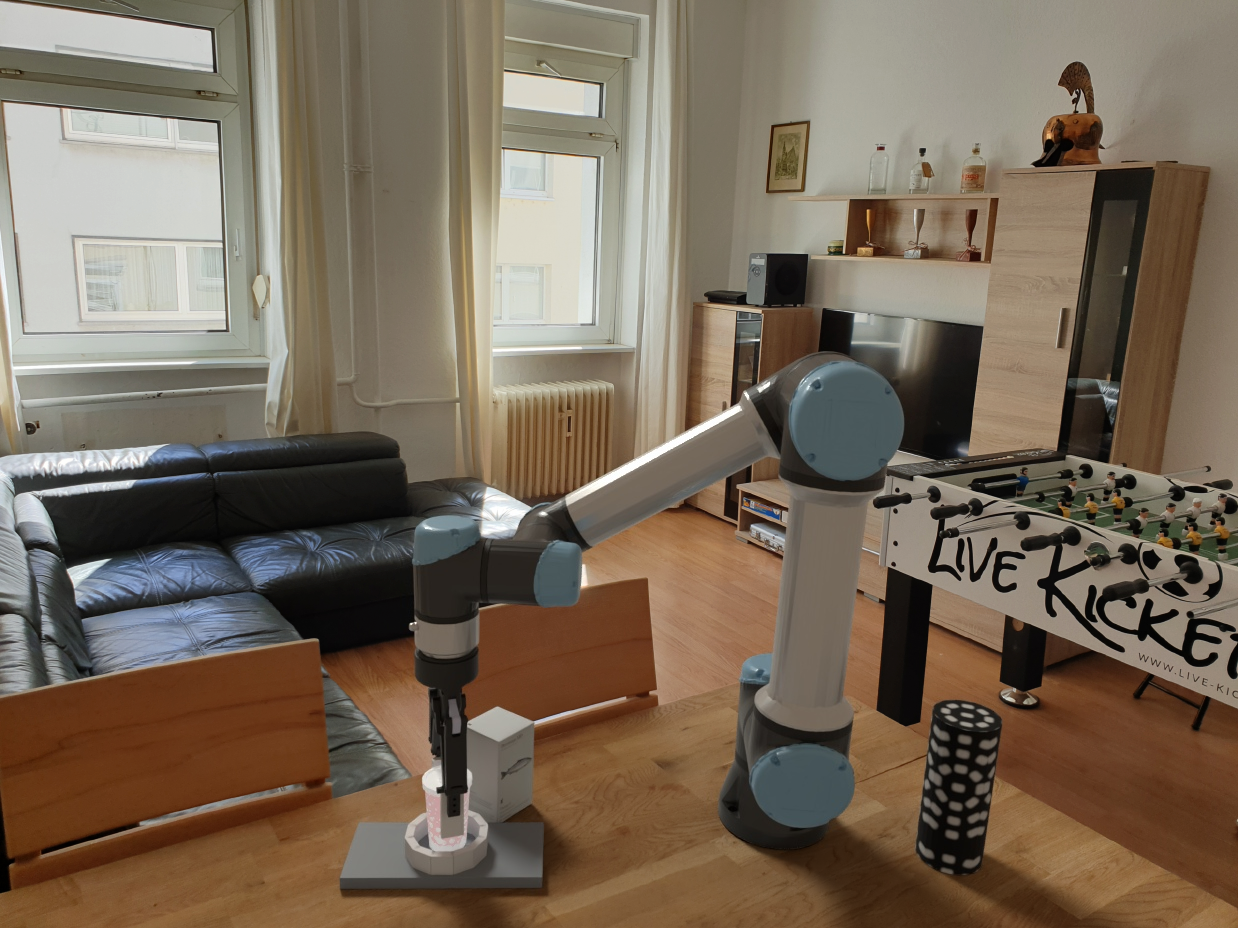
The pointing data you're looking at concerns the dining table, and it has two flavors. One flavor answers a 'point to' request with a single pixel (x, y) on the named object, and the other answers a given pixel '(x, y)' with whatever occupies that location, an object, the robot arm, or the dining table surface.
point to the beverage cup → (433, 811)
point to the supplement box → (500, 764)
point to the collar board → (445, 856)
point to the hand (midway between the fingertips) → (447, 818)
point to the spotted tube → (958, 786)
